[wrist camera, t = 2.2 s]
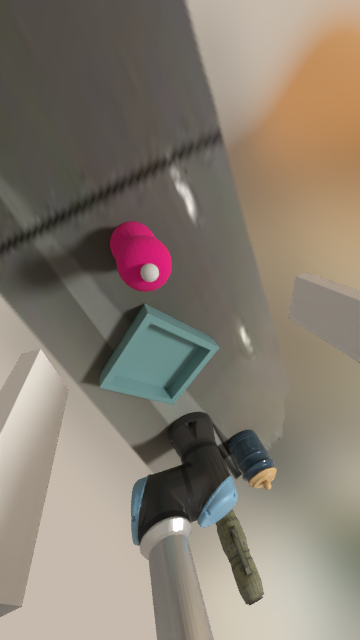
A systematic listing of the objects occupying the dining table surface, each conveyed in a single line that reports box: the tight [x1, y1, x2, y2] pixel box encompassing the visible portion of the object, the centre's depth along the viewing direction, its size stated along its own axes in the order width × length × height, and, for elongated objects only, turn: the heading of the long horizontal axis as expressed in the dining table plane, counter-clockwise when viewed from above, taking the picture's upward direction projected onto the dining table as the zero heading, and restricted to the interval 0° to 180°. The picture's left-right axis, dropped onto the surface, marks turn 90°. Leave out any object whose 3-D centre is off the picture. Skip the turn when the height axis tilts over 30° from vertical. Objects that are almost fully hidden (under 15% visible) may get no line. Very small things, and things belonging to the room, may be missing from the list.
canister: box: [228, 430, 276, 490], centre depth 76 cm, size 13×13×18 cm
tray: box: [99, 304, 220, 405], centre depth 47 cm, size 20×20×4 cm
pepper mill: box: [110, 221, 172, 292], centre depth 27 cm, size 7×7×20 cm
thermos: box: [216, 508, 264, 605], centre depth 75 cm, size 9×12×35 cm
